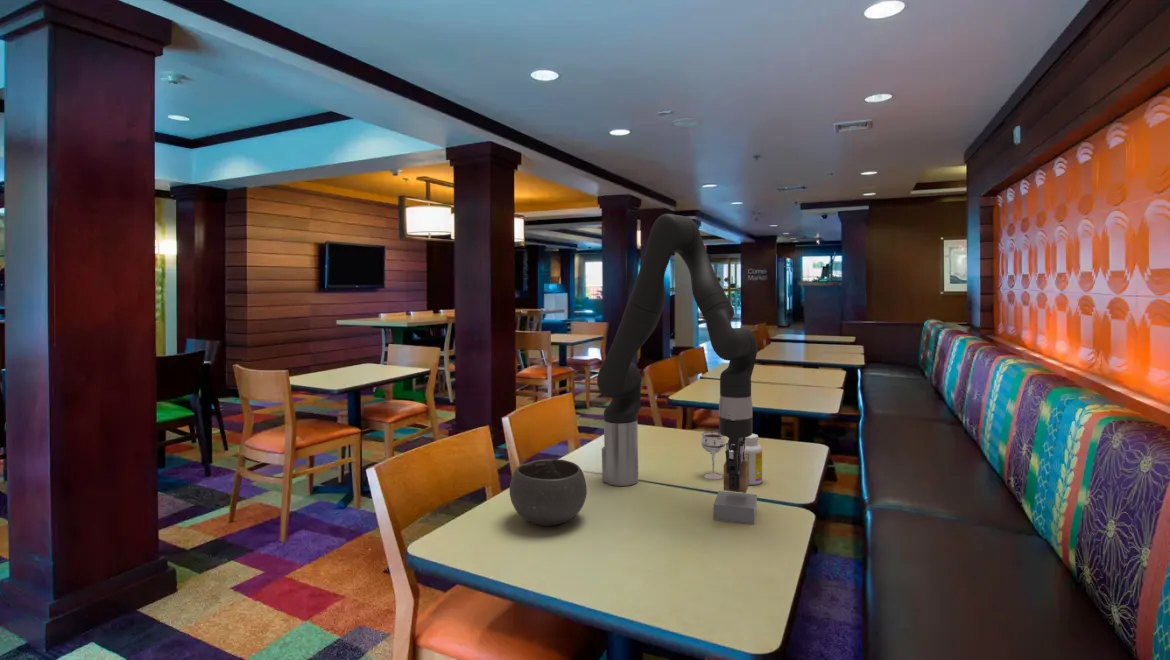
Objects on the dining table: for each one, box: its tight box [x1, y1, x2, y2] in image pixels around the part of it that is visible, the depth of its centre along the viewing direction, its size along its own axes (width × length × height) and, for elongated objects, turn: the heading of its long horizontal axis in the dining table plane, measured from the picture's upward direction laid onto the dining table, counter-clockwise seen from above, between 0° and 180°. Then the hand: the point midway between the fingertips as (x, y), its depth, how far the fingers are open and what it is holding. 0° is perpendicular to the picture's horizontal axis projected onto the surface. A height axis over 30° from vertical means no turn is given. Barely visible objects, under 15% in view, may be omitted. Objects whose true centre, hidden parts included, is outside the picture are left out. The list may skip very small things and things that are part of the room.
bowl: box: [509, 458, 588, 527], centre depth 139 cm, size 18×18×13 cm
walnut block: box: [723, 461, 750, 494], centre depth 140 cm, size 5×5×6 cm
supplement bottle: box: [744, 433, 763, 486], centre depth 162 cm, size 7×7×13 cm
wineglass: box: [700, 430, 727, 480], centre depth 167 cm, size 7×7×12 cm
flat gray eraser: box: [713, 490, 758, 525], centre depth 140 cm, size 9×9×4 cm
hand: (736, 485), depth 140 cm, fingers closed on walnut block, 5 cm apart
